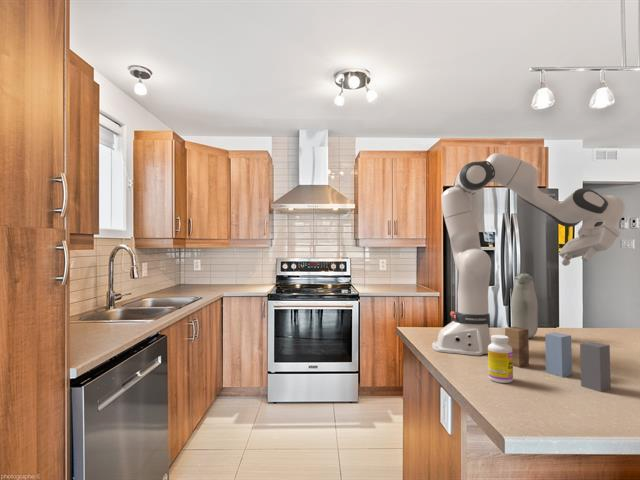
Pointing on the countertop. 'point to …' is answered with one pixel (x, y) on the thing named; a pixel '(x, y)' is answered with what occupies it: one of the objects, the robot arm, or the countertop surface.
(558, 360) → the slate-blue block
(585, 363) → the charcoal block
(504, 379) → the supplement bottle
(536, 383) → the countertop surface
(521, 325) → the grey-green tall rounded cylinder
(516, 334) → the walnut block
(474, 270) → the robot arm
